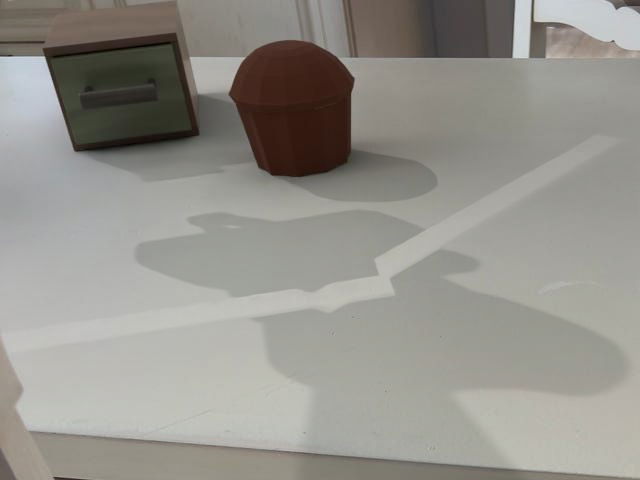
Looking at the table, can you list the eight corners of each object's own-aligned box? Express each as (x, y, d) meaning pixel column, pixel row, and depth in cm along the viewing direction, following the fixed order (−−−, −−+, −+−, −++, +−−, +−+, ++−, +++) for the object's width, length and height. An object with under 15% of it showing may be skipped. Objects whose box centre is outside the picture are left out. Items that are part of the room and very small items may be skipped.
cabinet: (199, 134, 104) (176, 32, 98) (74, 151, 103) (41, 48, 96) (197, 93, 116) (176, -1, 110) (85, 107, 114) (57, 13, 108)
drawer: (192, 143, 99) (171, 57, 94) (72, 159, 98) (45, 73, 93) (190, 91, 114) (172, 14, 109) (86, 104, 112) (63, 26, 107)
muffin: (389, 151, 97) (376, 36, 90) (308, 189, 90) (288, 68, 84) (300, 133, 103) (282, 24, 96) (218, 168, 96) (193, 53, 90)
